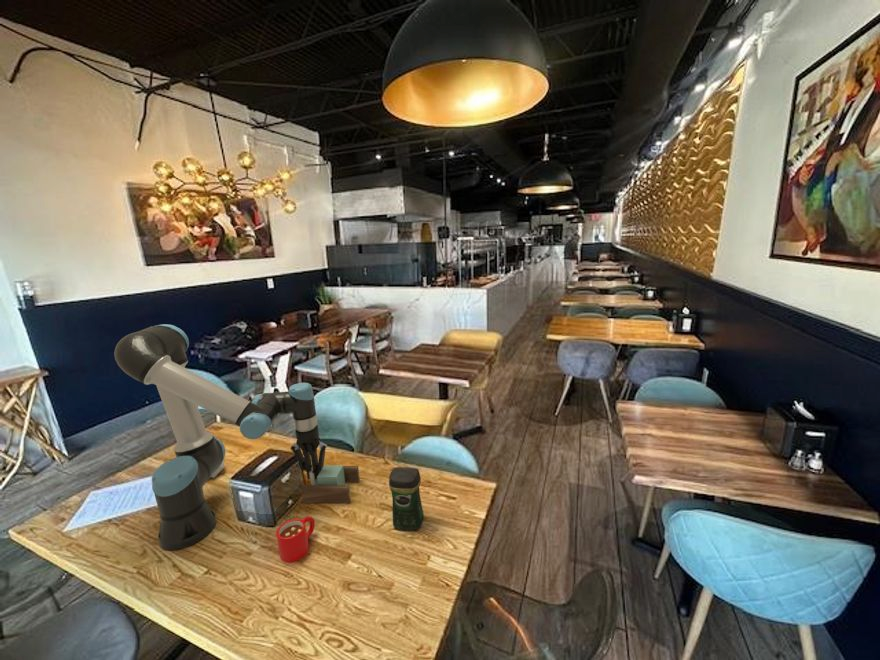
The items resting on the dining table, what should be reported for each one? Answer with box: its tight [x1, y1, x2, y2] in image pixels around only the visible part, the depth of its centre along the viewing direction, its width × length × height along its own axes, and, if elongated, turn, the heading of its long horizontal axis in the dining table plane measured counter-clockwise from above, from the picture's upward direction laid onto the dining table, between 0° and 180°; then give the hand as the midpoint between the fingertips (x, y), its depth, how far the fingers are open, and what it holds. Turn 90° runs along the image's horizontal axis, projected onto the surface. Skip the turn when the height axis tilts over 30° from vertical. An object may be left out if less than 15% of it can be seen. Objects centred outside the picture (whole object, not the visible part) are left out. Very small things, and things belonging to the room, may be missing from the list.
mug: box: [275, 515, 315, 564], centre depth 109 cm, size 8×12×8 cm, turn 154°
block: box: [317, 464, 346, 485], centre depth 133 cm, size 7×7×8 cm
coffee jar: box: [388, 466, 425, 531], centre depth 115 cm, size 10×8×19 cm
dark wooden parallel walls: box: [300, 465, 360, 505], centre depth 133 cm, size 13×17×6 cm
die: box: [210, 460, 226, 479], centre depth 147 cm, size 8×9×10 cm
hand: (314, 486), depth 134 cm, fingers closed
